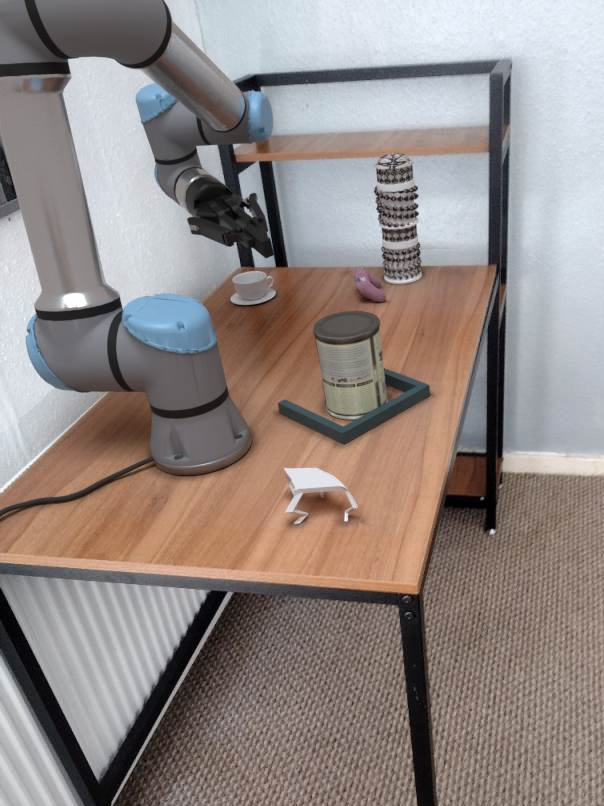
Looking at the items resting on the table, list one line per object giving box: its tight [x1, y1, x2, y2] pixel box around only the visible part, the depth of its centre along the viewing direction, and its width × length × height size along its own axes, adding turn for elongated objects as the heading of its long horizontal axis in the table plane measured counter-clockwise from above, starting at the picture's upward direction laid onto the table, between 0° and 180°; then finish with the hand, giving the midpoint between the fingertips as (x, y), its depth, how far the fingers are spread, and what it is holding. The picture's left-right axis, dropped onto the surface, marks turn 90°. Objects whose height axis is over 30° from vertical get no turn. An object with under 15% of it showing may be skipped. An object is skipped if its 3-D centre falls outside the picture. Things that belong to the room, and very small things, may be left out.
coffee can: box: [312, 310, 389, 421], centre depth 125 cm, size 10×10×14 cm
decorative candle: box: [373, 152, 423, 285], centre depth 167 cm, size 9×9×25 cm
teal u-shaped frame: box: [277, 367, 431, 445], centre depth 128 cm, size 16×19×2 cm
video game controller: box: [352, 266, 387, 303], centre depth 165 cm, size 10×5×7 cm, turn 6°
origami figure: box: [283, 467, 359, 525], centre depth 104 cm, size 12×8×5 cm
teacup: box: [230, 270, 277, 306], centre depth 171 cm, size 10×10×5 cm
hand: (268, 248), depth 120 cm, fingers closed
